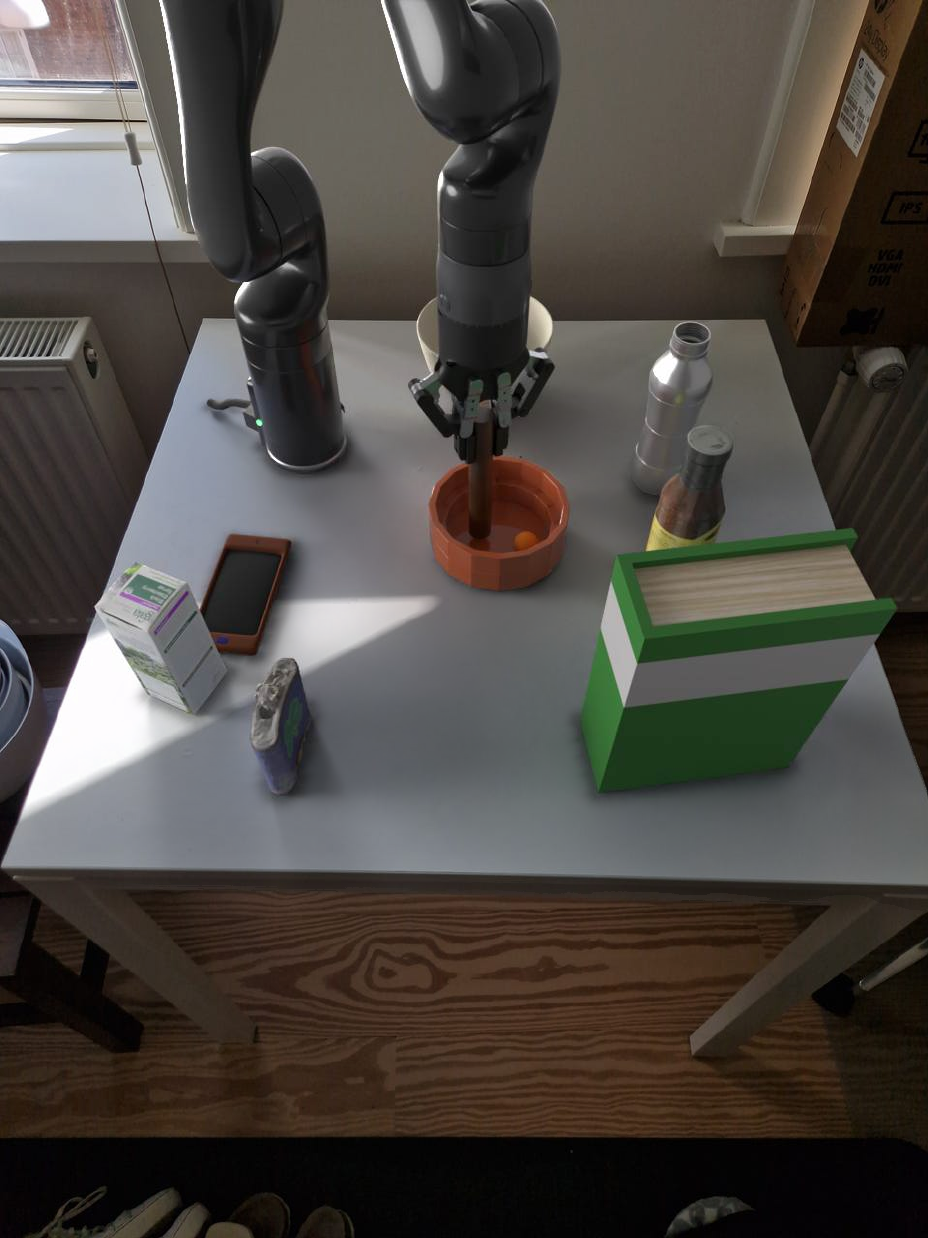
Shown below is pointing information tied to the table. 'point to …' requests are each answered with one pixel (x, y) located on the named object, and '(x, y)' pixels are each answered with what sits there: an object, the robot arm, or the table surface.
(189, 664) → the syrup box
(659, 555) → the hardback book
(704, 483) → the sauce bottle
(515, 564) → the mixing bowl
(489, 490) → the stick
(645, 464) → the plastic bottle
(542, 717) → the table surface
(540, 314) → the bowl
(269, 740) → the flask
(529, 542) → the ball
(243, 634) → the smartphone
